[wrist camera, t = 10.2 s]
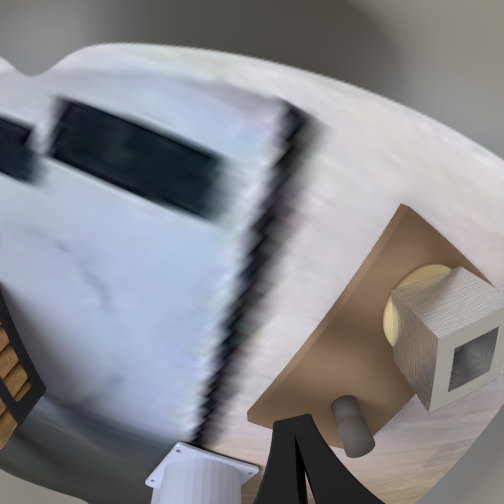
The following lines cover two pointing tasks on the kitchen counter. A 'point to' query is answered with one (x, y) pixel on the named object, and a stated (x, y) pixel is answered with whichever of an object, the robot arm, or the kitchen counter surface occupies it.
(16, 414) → the ammunition clip
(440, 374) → the collar
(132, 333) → the kitchen counter surface
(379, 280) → the board
